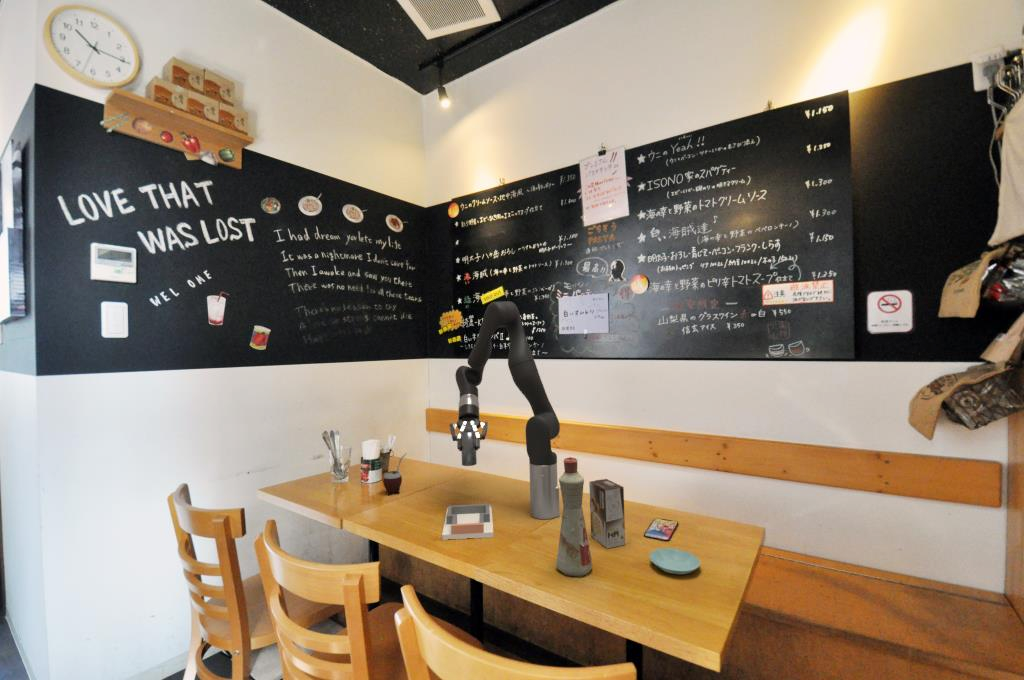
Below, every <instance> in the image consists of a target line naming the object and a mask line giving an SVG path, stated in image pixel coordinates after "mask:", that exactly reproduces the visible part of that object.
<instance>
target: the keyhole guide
mask: <svg viewBox="0 0 1024 680" xmlns="http://www.w3.org/2000/svg"><path fill="white" fill-rule="evenodd" d="M493 524H494V522H493V512H492V506H491V505H490V504H489V503H480V504H478V503H477V504H459V505H458V504H457V505H455V504H454V505H448V507H447V509H446V513H445V519H444V522H443V527H442V533H441V541H449V540H448V539H456V540H468V539H467V538H474V539H491V538H492V539H493V538H494V527H493Z"/></svg>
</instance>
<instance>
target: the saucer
mask: <svg viewBox="0 0 1024 680" xmlns="http://www.w3.org/2000/svg"><path fill="white" fill-rule="evenodd" d="M649 560H650V561H651V562H652V563H653V564H654V565H655V567H657V568H659V569H660V570H661V571H664V572H665V573H669V574H673V575H686V574H689V573H690V574H691V573H692V572H694V571H696V570H697V569H698V568H700V565H701V561H700V559H699V558H698V557H697V556H696V555H694V554H693V553H690V552H687V551H685V550H683V549H682V550H681V549H678V548H669V547H668V548H666V547H665V548H658V549H655V550H653V551H651V553H650V554H649Z"/></svg>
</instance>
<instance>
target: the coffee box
mask: <svg viewBox="0 0 1024 680" xmlns="http://www.w3.org/2000/svg"><path fill="white" fill-rule="evenodd" d="M588 484H589V509H590V510H589V514H590V515H589V516H590V535H591V538H593V540H595V541H597V542H598V543H600V544H601V545H602V546H604V547H605V548H606V549H610V548H615V547H621V546H625V545H626V526H625V525H626V524H625V523H626V522H625V520H626V519H625V494H624V493H625V491H624V486H622V485H620V484H617V483H615V482H614V481H612V480H610V479H607V478H602V479H596V480H593V481H589V482H588Z"/></svg>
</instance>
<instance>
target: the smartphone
mask: <svg viewBox="0 0 1024 680" xmlns="http://www.w3.org/2000/svg"><path fill="white" fill-rule="evenodd" d="M678 527H679V522H678V521H677V520H672V519H666V518H659V517H654V519H653V520H652V522H651V523H650V524H649V526H648V528H647V529H646V530H645V531H644V533H643V537H644V538H646V539H650V540H657V541H660V542H661V541H662V542H667V543H669V542H670V541H671V539H672V537H673V536H674V534H675V532H676V530H677V529H678Z"/></svg>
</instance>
